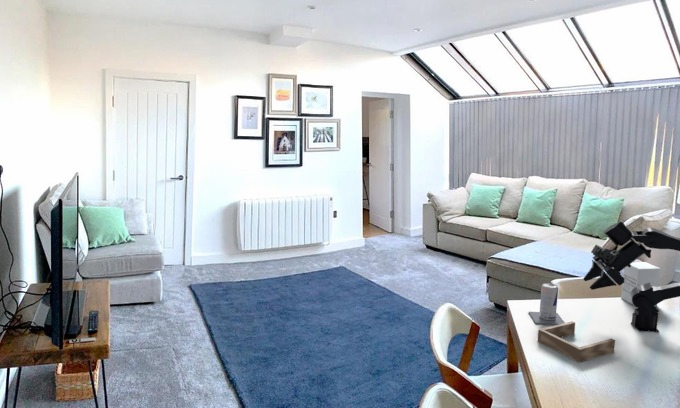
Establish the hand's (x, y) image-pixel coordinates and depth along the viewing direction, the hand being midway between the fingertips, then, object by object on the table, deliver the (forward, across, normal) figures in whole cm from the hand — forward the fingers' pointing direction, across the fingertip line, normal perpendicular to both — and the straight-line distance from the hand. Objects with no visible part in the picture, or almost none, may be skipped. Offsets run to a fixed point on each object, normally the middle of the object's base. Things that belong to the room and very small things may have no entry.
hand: (587, 284), depth 169 cm
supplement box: (-8, -26, +28) cm, 38 cm away
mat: (+18, +2, +1) cm, 18 cm away
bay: (+15, +22, +4) cm, 27 cm away
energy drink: (+18, +2, +1) cm, 18 cm away
